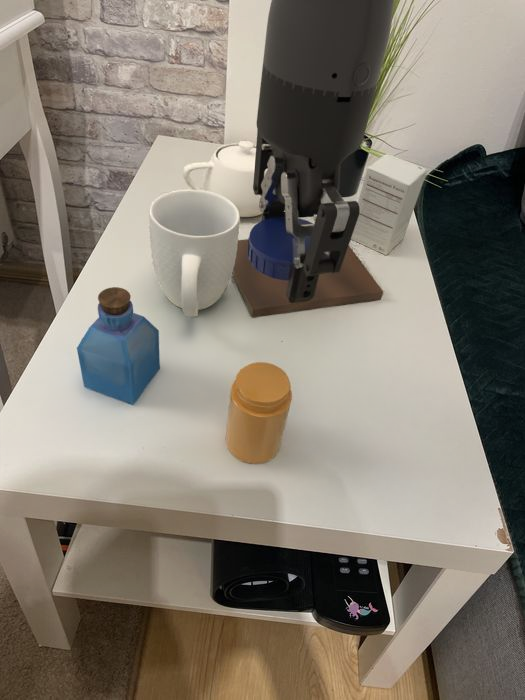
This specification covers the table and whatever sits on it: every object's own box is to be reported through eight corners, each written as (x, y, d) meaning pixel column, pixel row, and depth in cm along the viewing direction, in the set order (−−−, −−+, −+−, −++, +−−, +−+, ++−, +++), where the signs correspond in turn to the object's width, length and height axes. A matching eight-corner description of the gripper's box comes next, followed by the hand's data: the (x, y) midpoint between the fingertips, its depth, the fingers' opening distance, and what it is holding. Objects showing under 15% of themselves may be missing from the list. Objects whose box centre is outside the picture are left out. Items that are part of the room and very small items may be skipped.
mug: (232, 345, 66) (241, 260, 57) (144, 340, 65) (138, 252, 56) (232, 273, 77) (240, 192, 68) (156, 268, 76) (153, 184, 66)
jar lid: (322, 237, 46) (326, 218, 45) (328, 284, 42) (332, 264, 40) (248, 232, 46) (249, 213, 45) (246, 279, 42) (247, 259, 40)
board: (336, 238, 87) (338, 230, 86) (381, 299, 77) (384, 291, 76) (220, 249, 81) (220, 241, 80) (251, 317, 70) (253, 309, 69)
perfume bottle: (84, 386, 59) (68, 305, 50) (113, 351, 63) (104, 271, 55) (133, 405, 58) (125, 325, 49) (159, 368, 62) (157, 289, 54)
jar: (270, 413, 59) (282, 354, 53) (288, 457, 55) (304, 399, 49) (219, 423, 57) (224, 363, 51) (234, 469, 54) (242, 411, 47)
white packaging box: (366, 221, 92) (386, 152, 83) (404, 238, 89) (429, 168, 81) (346, 238, 87) (366, 166, 78) (386, 256, 85) (410, 184, 76)
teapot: (192, 229, 84) (193, 165, 76) (173, 187, 93) (173, 126, 85) (316, 219, 91) (329, 159, 83) (288, 180, 99) (297, 123, 92)
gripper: (232, 28, 37) (218, 232, 49) (312, 110, 28) (271, 337, 39) (328, 32, 39) (292, 225, 51) (430, 109, 30) (358, 323, 42)
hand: (283, 273), depth 45 cm, fingers closed on jar lid, 6 cm apart
